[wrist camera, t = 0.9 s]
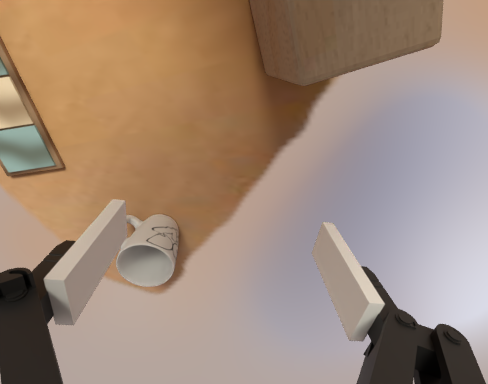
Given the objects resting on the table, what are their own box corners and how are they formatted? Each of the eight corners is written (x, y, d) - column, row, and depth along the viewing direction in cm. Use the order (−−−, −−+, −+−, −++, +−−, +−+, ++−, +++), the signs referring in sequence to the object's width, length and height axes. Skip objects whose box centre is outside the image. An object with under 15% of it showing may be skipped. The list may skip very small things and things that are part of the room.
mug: (114, 223, 46) (85, 262, 37) (137, 190, 43) (112, 223, 34) (169, 253, 49) (155, 294, 40) (193, 224, 47) (185, 262, 38)
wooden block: (265, 76, 36) (300, 88, 18) (246, -9, 31) (267, -104, 14) (335, 54, 35) (444, 44, 17) (326, -37, 31) (459, -177, 13)
